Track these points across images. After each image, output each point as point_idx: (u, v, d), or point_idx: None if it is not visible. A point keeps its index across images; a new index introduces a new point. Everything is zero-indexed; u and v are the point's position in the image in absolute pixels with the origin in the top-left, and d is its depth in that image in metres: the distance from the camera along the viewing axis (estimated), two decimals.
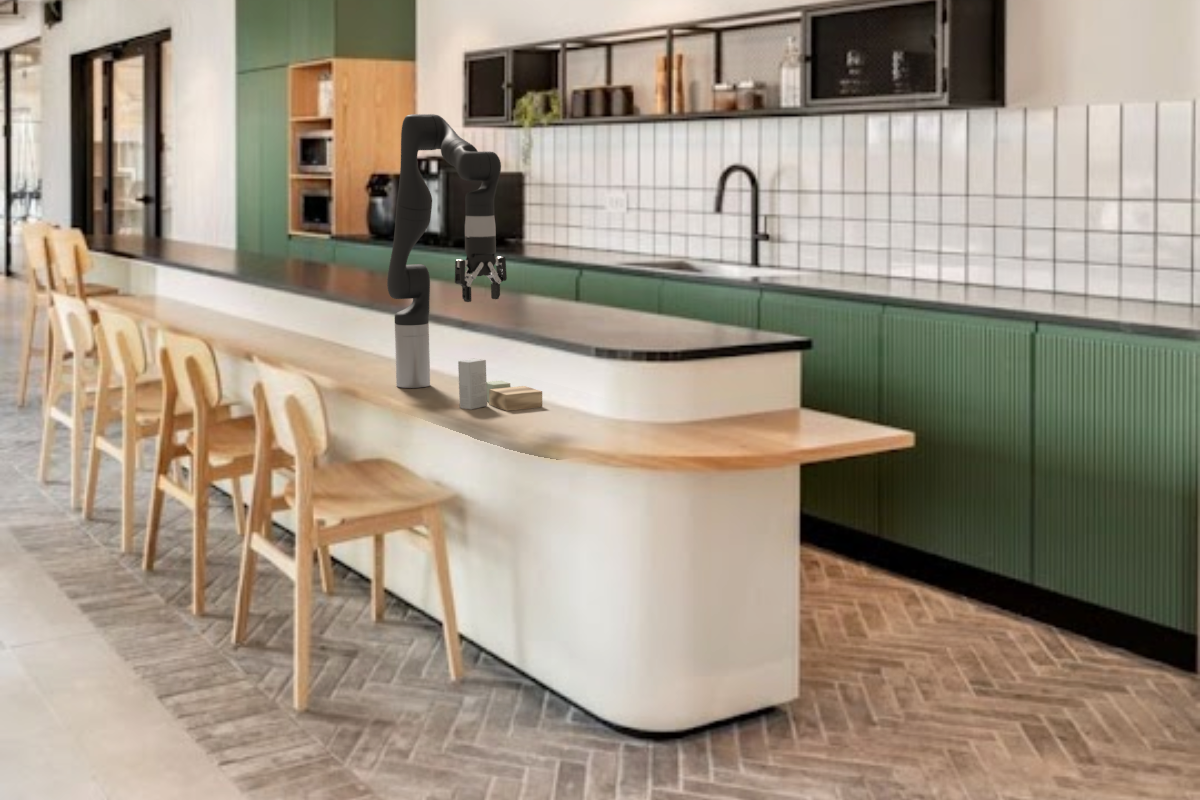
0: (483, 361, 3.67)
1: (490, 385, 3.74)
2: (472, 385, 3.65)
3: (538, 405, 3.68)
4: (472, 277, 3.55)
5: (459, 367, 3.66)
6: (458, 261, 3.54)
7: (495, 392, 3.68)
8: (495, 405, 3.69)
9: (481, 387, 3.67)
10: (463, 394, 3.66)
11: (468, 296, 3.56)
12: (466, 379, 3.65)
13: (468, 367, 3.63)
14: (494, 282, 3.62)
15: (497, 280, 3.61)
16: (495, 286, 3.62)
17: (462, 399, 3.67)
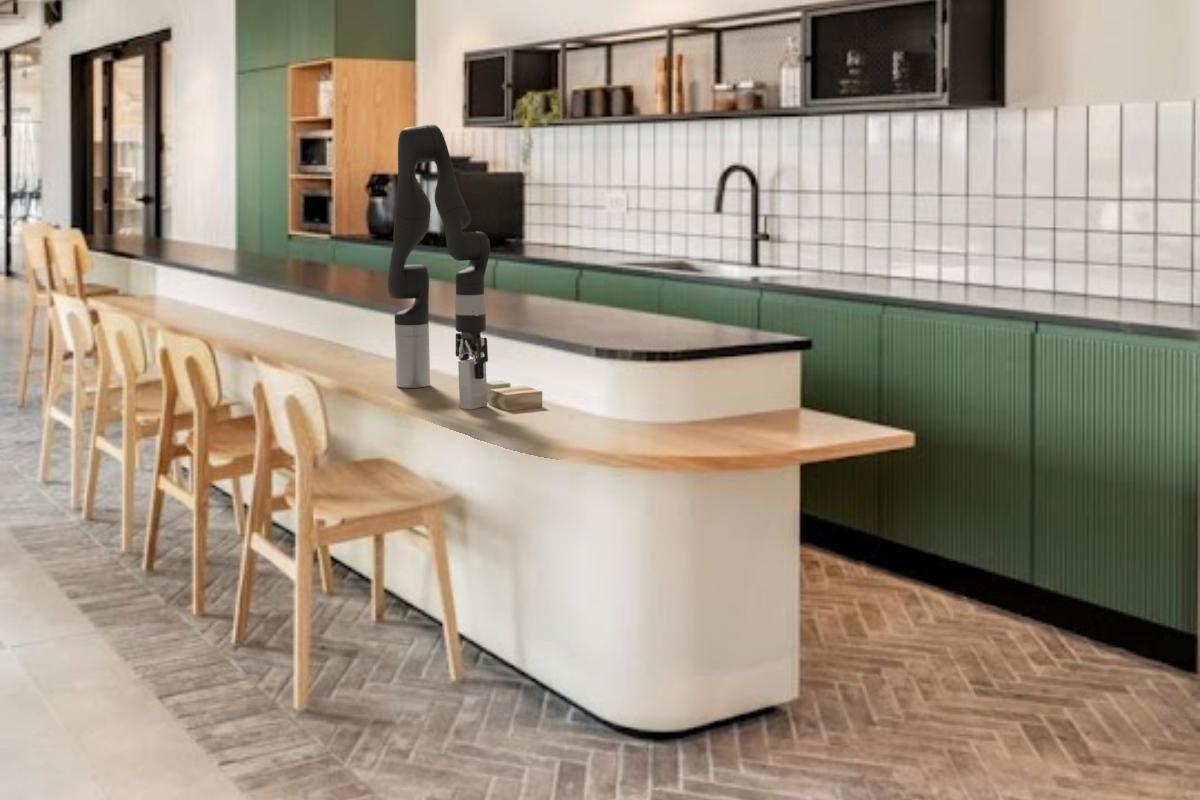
0: None
1: (490, 385, 3.74)
2: (472, 385, 3.65)
3: (538, 405, 3.68)
4: None
5: (459, 367, 3.66)
6: (482, 339, 3.60)
7: (495, 392, 3.68)
8: (495, 405, 3.69)
9: (481, 387, 3.67)
10: (463, 394, 3.66)
11: (482, 373, 3.63)
12: (466, 379, 3.65)
13: (468, 367, 3.64)
14: (465, 358, 3.70)
15: None
16: None
17: (462, 399, 3.67)
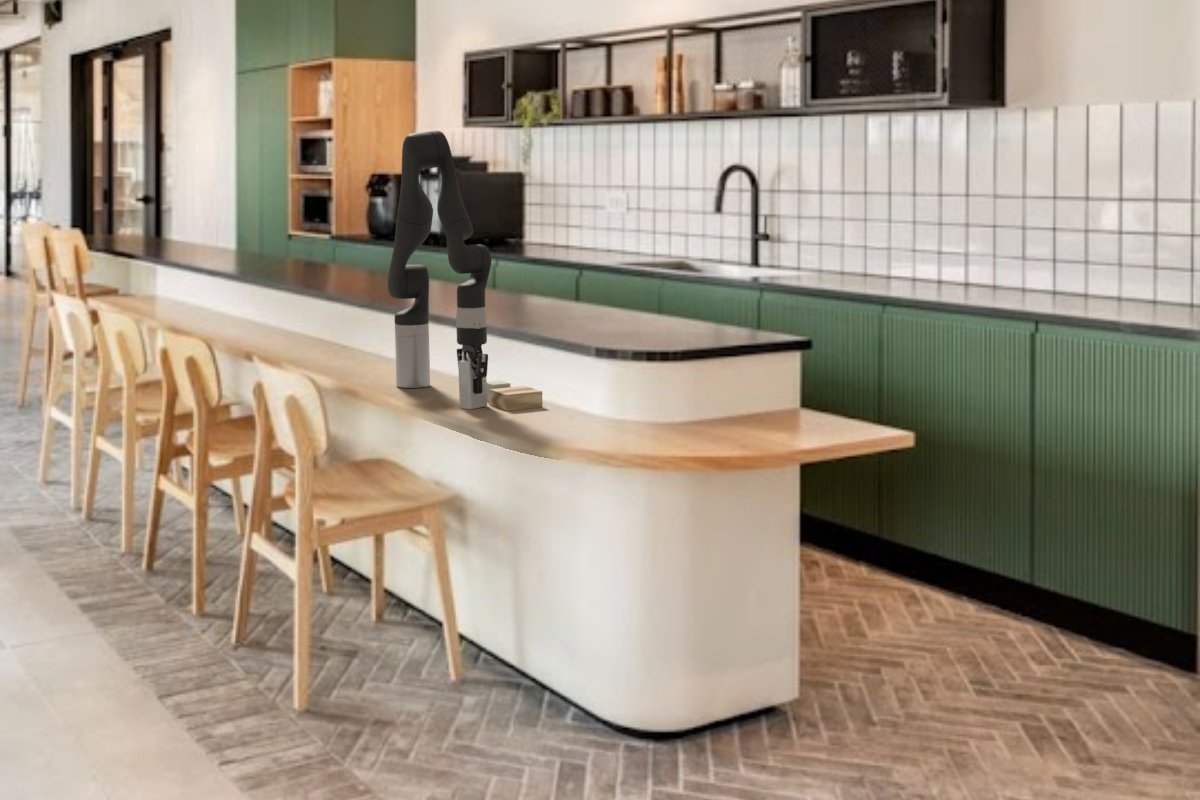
0: None
1: (490, 385, 3.74)
2: (472, 385, 3.65)
3: (538, 405, 3.68)
4: (482, 368, 3.65)
5: (459, 367, 3.66)
6: (483, 356, 3.60)
7: (495, 392, 3.68)
8: (495, 405, 3.69)
9: None
10: (464, 394, 3.66)
11: (481, 387, 3.65)
12: (466, 379, 3.65)
13: (468, 367, 3.63)
14: None
15: None
16: None
17: (462, 399, 3.67)
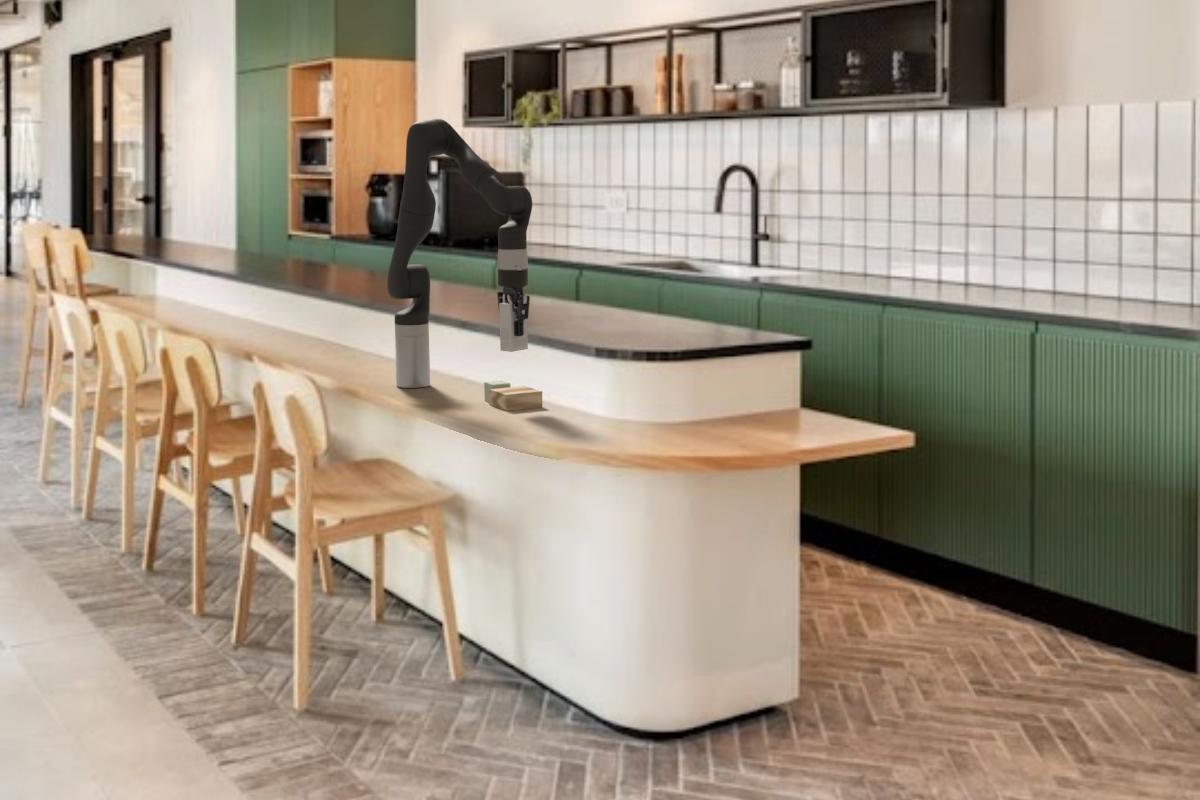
0: None
1: (490, 385, 3.74)
2: (513, 327, 3.63)
3: (538, 405, 3.68)
4: (523, 310, 3.64)
5: (500, 309, 3.64)
6: (525, 298, 3.59)
7: (495, 392, 3.68)
8: (495, 405, 3.69)
9: None
10: (504, 336, 3.65)
11: (522, 330, 3.64)
12: (507, 322, 3.63)
13: (509, 309, 3.62)
14: None
15: None
16: None
17: (502, 341, 3.66)
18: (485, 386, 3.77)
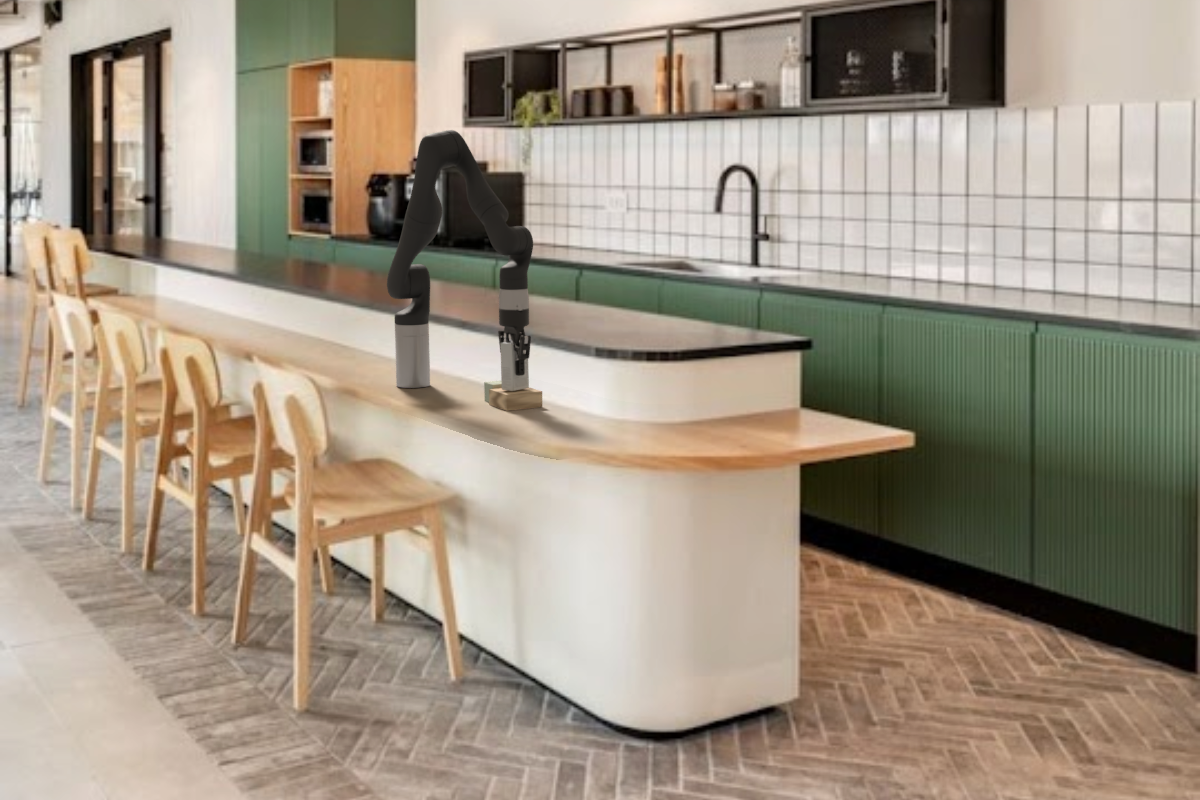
0: None
1: (490, 385, 3.74)
2: (514, 366, 3.65)
3: (538, 405, 3.68)
4: None
5: (501, 349, 3.66)
6: (526, 338, 3.61)
7: (495, 392, 3.68)
8: (495, 405, 3.69)
9: None
10: (506, 375, 3.67)
11: (523, 369, 3.66)
12: (509, 361, 3.65)
13: (510, 349, 3.64)
14: None
15: None
16: None
17: (504, 380, 3.67)
18: (485, 386, 3.77)
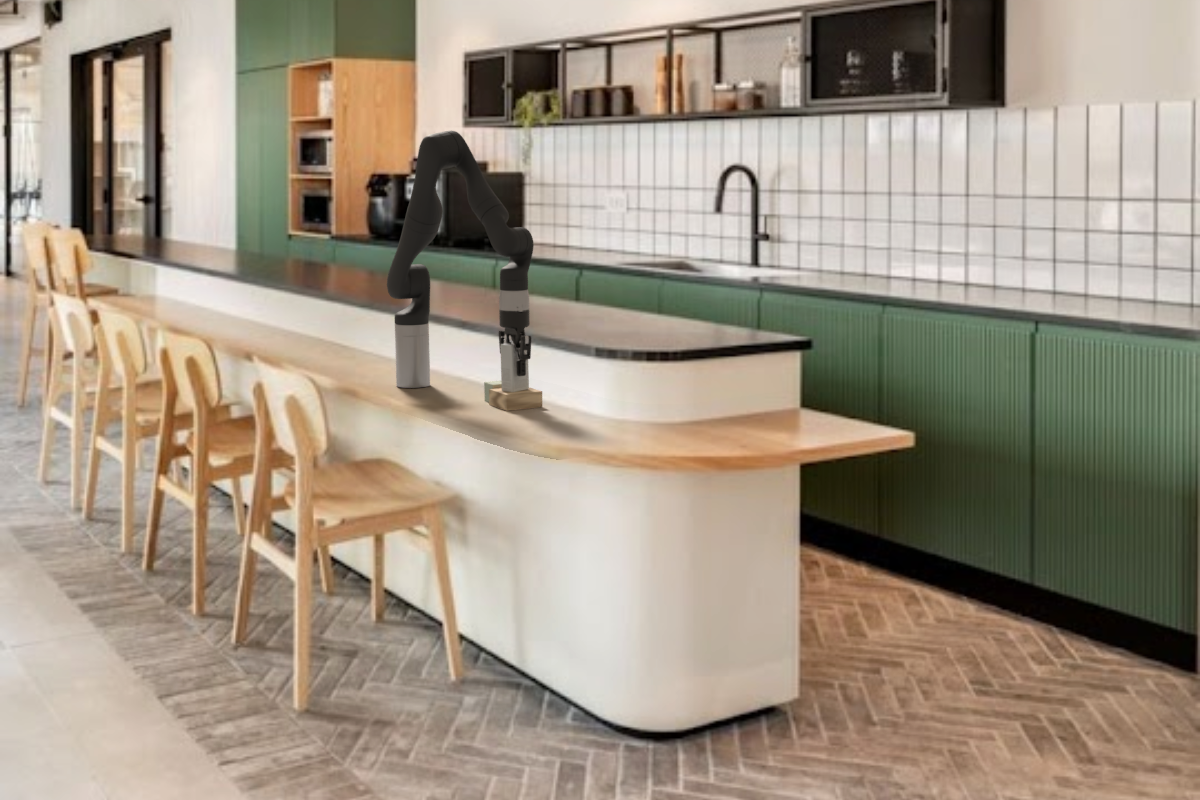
0: None
1: (490, 385, 3.74)
2: (514, 368, 3.65)
3: (538, 405, 3.68)
4: (525, 350, 3.66)
5: (501, 350, 3.66)
6: (526, 338, 3.61)
7: (495, 392, 3.68)
8: (495, 405, 3.69)
9: None
10: (506, 377, 3.67)
11: None
12: (509, 362, 3.65)
13: (510, 350, 3.64)
14: None
15: None
16: None
17: (504, 382, 3.67)
18: (485, 386, 3.77)
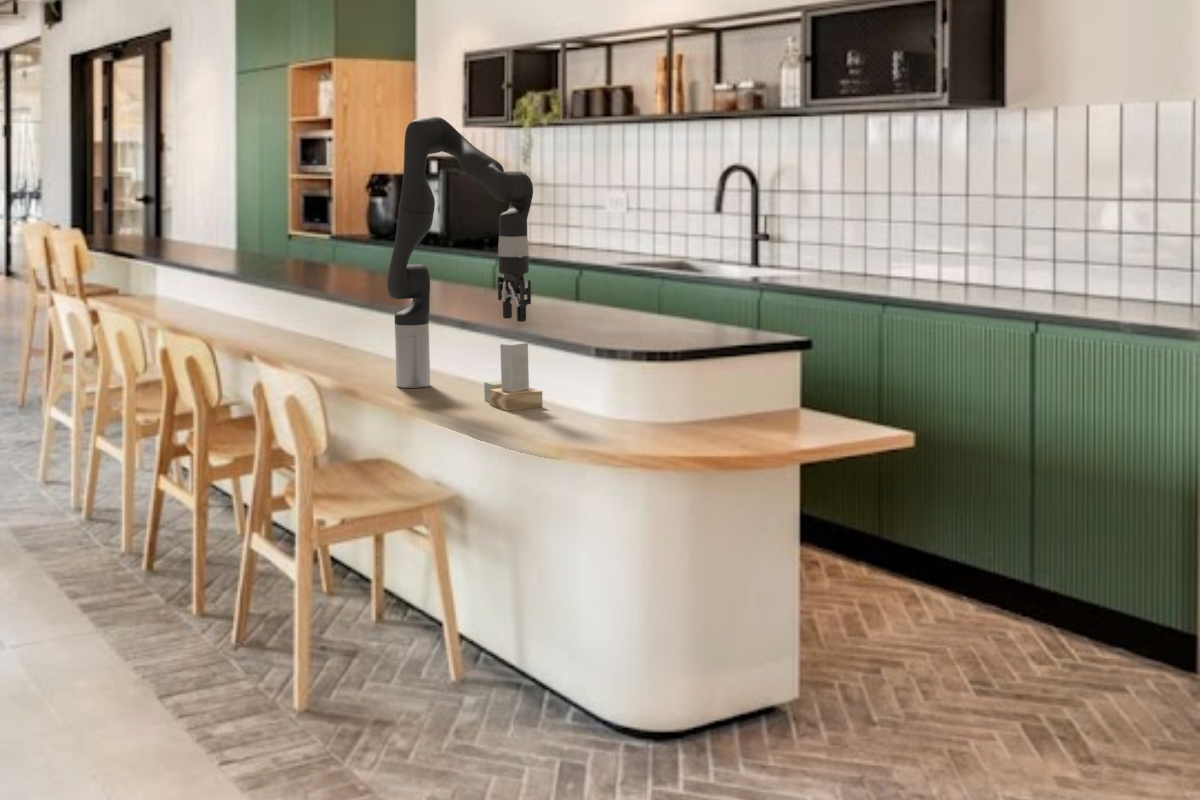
0: (525, 344, 3.68)
1: (490, 385, 3.74)
2: (514, 368, 3.65)
3: (538, 405, 3.68)
4: (525, 296, 3.63)
5: (501, 350, 3.66)
6: (526, 282, 3.59)
7: (495, 392, 3.68)
8: (495, 405, 3.69)
9: (523, 370, 3.68)
10: (506, 377, 3.67)
11: None
12: (509, 362, 3.65)
13: (510, 350, 3.64)
14: (507, 302, 3.69)
15: None
16: (510, 305, 3.69)
17: (504, 382, 3.67)
18: (485, 386, 3.77)
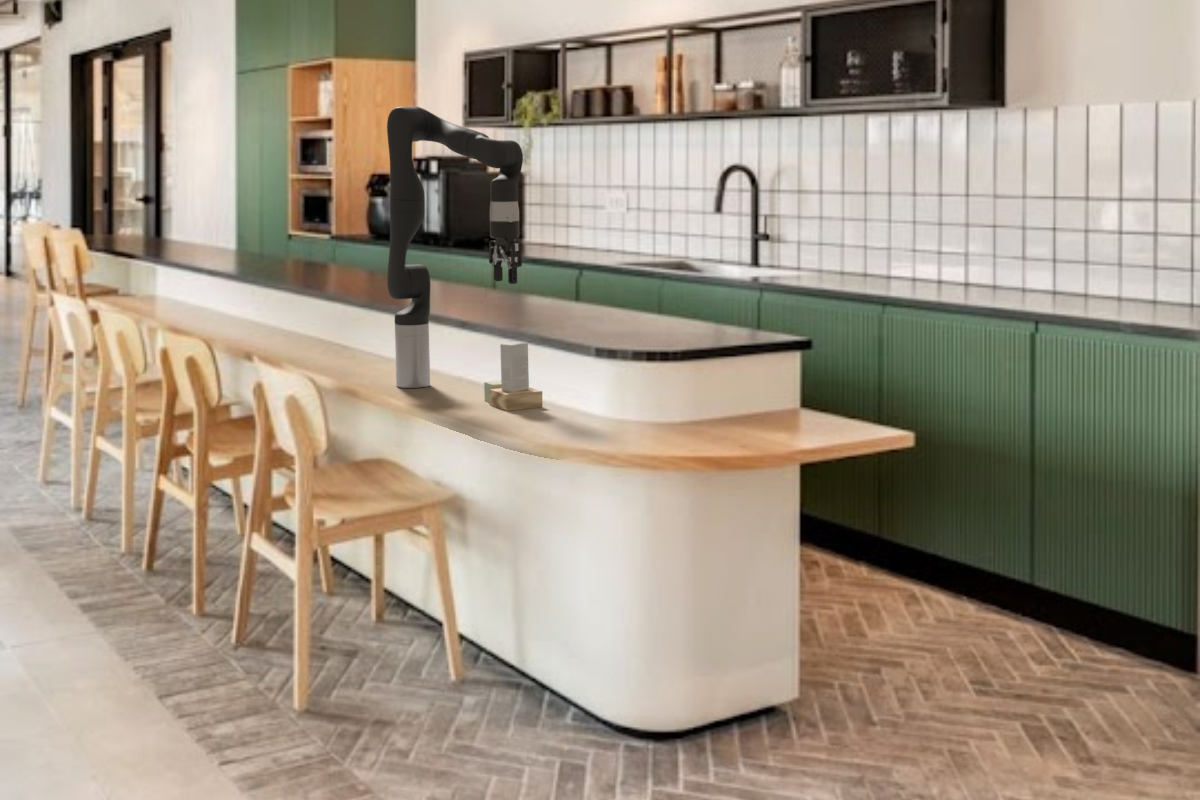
0: (525, 344, 3.68)
1: (490, 385, 3.74)
2: (514, 368, 3.65)
3: (538, 405, 3.68)
4: (516, 259, 3.74)
5: (501, 350, 3.66)
6: (516, 245, 3.70)
7: (495, 392, 3.68)
8: (495, 405, 3.69)
9: (523, 370, 3.68)
10: (506, 377, 3.67)
11: None
12: (509, 362, 3.65)
13: (510, 350, 3.64)
14: (498, 265, 3.81)
15: None
16: (501, 268, 3.81)
17: (504, 382, 3.67)
18: (485, 386, 3.77)
